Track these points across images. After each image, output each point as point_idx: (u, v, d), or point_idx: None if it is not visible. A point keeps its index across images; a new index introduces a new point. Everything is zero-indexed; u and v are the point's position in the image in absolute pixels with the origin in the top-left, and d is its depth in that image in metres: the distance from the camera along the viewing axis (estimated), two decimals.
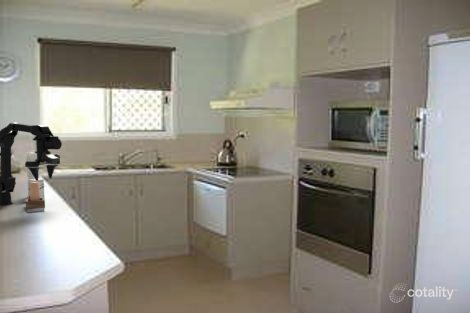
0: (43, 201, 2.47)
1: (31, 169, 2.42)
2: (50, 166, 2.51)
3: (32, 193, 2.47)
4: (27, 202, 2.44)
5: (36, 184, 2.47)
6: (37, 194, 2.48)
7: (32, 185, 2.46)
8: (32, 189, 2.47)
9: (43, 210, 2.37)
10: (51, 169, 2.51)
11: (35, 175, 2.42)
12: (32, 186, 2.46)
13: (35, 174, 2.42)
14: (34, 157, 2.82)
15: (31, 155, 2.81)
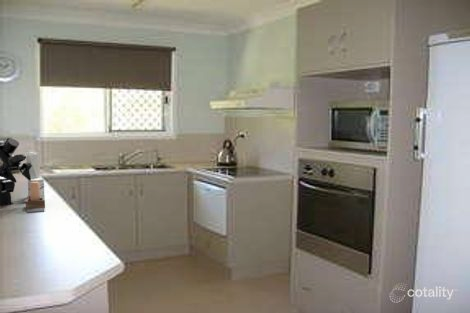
0: (43, 201, 2.47)
1: (5, 176, 2.48)
2: (24, 171, 2.58)
3: (32, 193, 2.47)
4: (27, 202, 2.44)
5: (36, 184, 2.47)
6: (37, 194, 2.48)
7: (32, 185, 2.46)
8: (32, 189, 2.47)
9: (43, 210, 2.37)
10: (26, 172, 2.57)
11: (11, 178, 2.47)
12: (32, 186, 2.46)
13: (11, 177, 2.47)
14: (34, 157, 2.82)
15: (31, 155, 2.81)
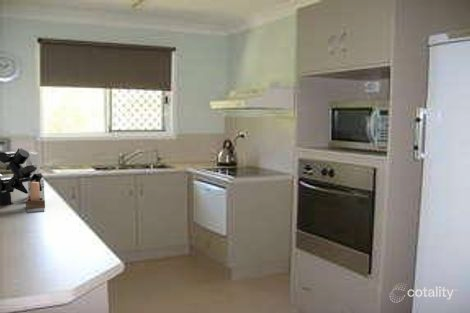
0: (43, 201, 2.47)
1: (16, 187, 2.45)
2: (35, 181, 2.55)
3: (32, 193, 2.47)
4: (27, 202, 2.44)
5: (36, 184, 2.47)
6: (37, 194, 2.48)
7: (32, 185, 2.46)
8: (32, 189, 2.47)
9: (43, 210, 2.37)
10: None
11: (23, 189, 2.45)
12: (32, 186, 2.46)
13: (22, 188, 2.45)
14: (34, 157, 2.82)
15: (31, 155, 2.81)
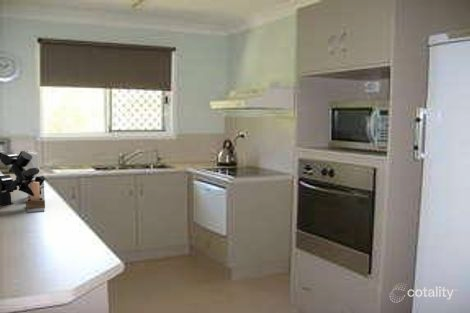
0: (43, 201, 2.47)
1: (22, 189, 2.47)
2: None
3: None
4: (27, 202, 2.44)
5: (36, 184, 2.47)
6: (37, 194, 2.48)
7: (32, 185, 2.46)
8: (32, 189, 2.47)
9: (43, 210, 2.37)
10: None
11: (29, 191, 2.46)
12: (32, 186, 2.47)
13: (28, 190, 2.46)
14: (34, 157, 2.82)
15: None
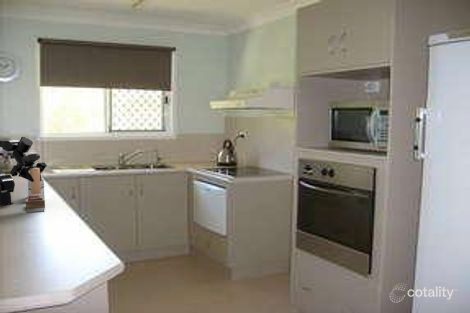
0: (43, 201, 2.47)
1: (23, 175, 2.44)
2: None
3: None
4: (27, 202, 2.44)
5: (36, 170, 2.44)
6: (37, 180, 2.45)
7: (32, 170, 2.44)
8: (32, 175, 2.44)
9: (43, 210, 2.37)
10: None
11: (29, 177, 2.43)
12: (32, 172, 2.44)
13: (28, 176, 2.43)
14: None
15: None
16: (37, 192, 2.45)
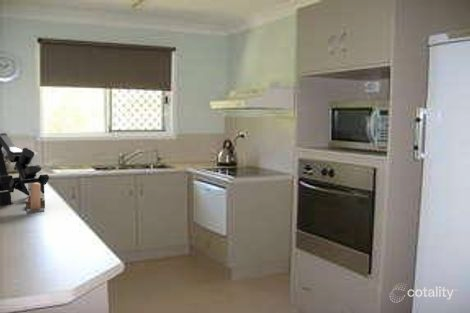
0: (43, 201, 2.47)
1: (19, 188, 2.36)
2: None
3: (32, 195, 2.36)
4: (27, 202, 2.44)
5: (36, 186, 2.36)
6: (37, 196, 2.37)
7: (32, 186, 2.36)
8: (32, 191, 2.36)
9: (43, 210, 2.37)
10: (41, 184, 2.42)
11: (24, 191, 2.35)
12: (32, 187, 2.36)
13: (24, 190, 2.35)
14: (34, 157, 2.82)
15: None
16: (36, 208, 2.37)
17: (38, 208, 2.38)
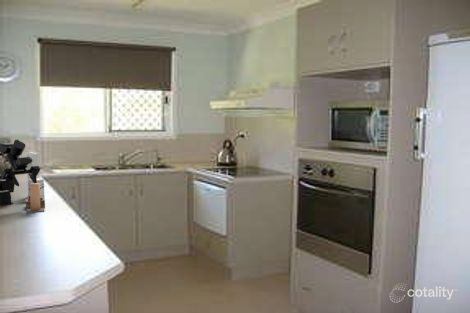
0: (43, 201, 2.47)
1: (9, 179, 2.40)
2: (32, 174, 2.49)
3: (31, 195, 2.37)
4: (27, 202, 2.44)
5: (35, 185, 2.37)
6: (36, 196, 2.37)
7: (31, 186, 2.37)
8: (31, 190, 2.37)
9: (43, 210, 2.37)
10: (33, 175, 2.48)
11: (14, 181, 2.39)
12: (31, 187, 2.37)
13: (14, 180, 2.39)
14: (34, 157, 2.82)
15: (31, 155, 2.81)
16: (36, 208, 2.37)
17: (38, 208, 2.38)
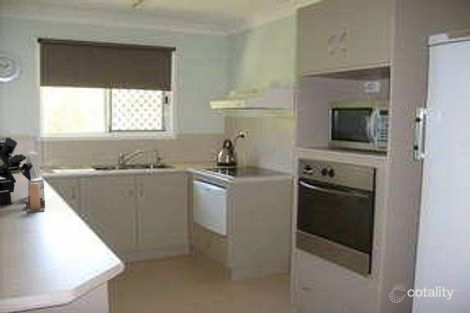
0: (43, 201, 2.47)
1: (5, 176, 2.46)
2: (25, 171, 2.56)
3: (31, 195, 2.37)
4: (27, 202, 2.44)
5: (35, 185, 2.37)
6: (36, 196, 2.37)
7: (30, 186, 2.36)
8: (31, 190, 2.37)
9: (43, 210, 2.37)
10: (27, 172, 2.55)
11: (11, 178, 2.46)
12: (31, 187, 2.36)
13: (10, 177, 2.46)
14: (34, 157, 2.82)
15: (31, 155, 2.81)
16: (36, 208, 2.37)
17: (38, 208, 2.38)
